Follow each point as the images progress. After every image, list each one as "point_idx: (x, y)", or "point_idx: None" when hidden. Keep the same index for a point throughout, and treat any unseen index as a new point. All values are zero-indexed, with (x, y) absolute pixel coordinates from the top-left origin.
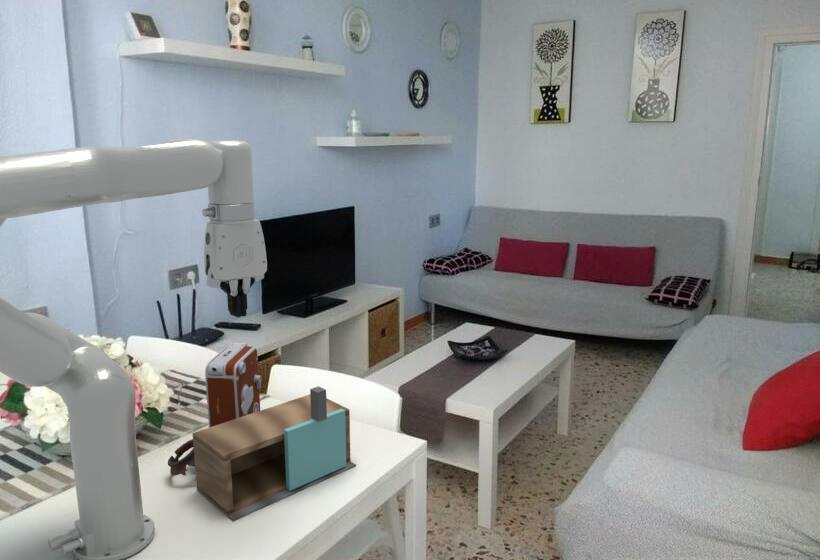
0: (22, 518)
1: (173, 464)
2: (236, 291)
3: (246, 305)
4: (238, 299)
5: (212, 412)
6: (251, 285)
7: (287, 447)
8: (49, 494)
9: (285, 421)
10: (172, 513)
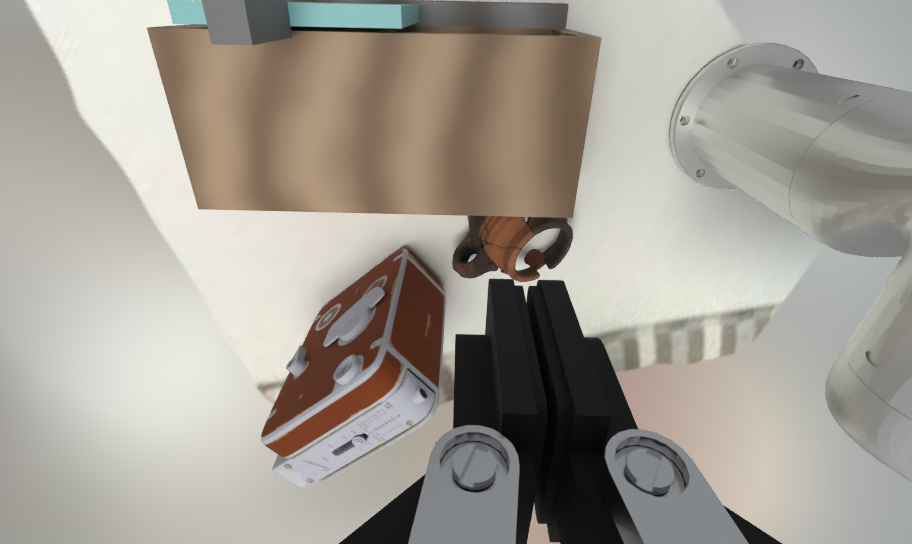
0: (771, 286)
1: (571, 233)
2: (621, 478)
3: (464, 352)
4: (589, 384)
5: (437, 323)
6: (368, 529)
7: (407, 8)
8: (706, 323)
9: (357, 104)
10: (623, 127)
